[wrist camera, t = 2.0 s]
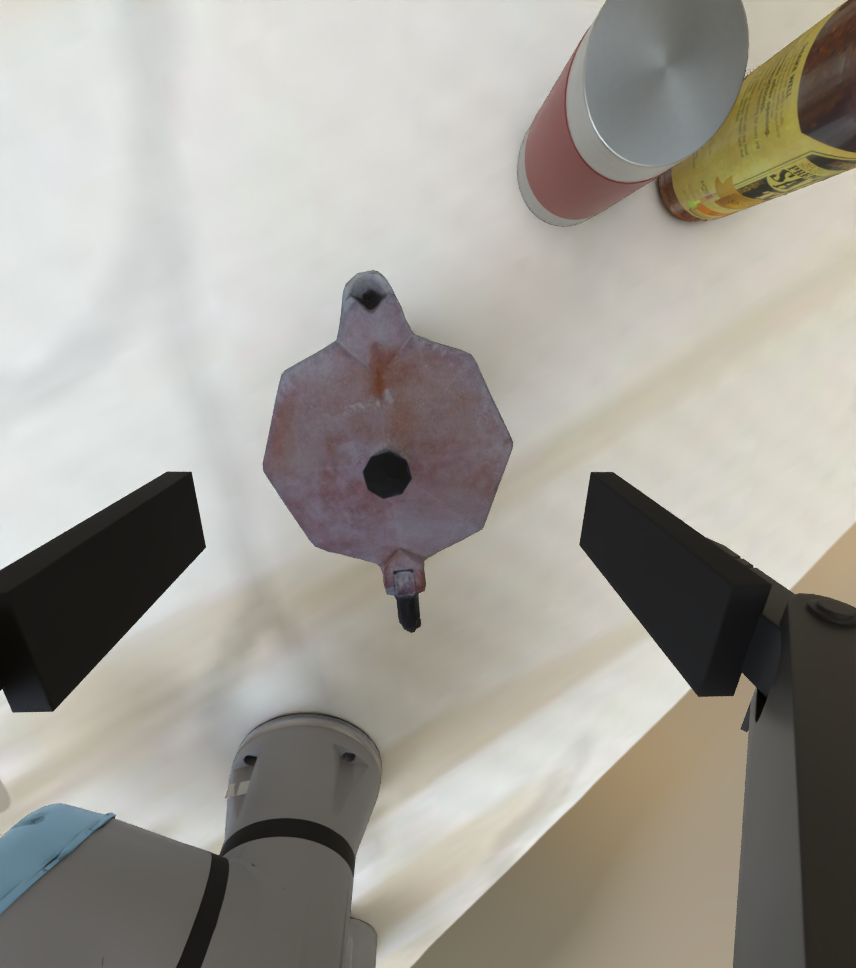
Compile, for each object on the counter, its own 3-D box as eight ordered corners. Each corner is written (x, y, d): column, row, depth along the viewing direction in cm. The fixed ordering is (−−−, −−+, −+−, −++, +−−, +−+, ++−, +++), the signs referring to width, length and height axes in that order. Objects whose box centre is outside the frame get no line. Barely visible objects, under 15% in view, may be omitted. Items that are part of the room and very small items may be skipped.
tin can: (611, 228, 29) (726, 171, 18) (512, 226, 28) (571, 166, 18) (629, 102, 26) (772, -44, 16) (521, 98, 26) (595, -55, 16)
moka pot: (447, 291, 30) (517, 221, 11) (475, 492, 35) (554, 678, 16) (314, 315, 30) (156, 287, 11) (362, 511, 35) (310, 719, 16)
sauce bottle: (666, 243, 29) (1125, 88, 11) (642, 144, 27) (1157, -265, 9) (759, 196, 28) (1428, -60, 10) (741, 91, 26) (1542, -485, 8)
